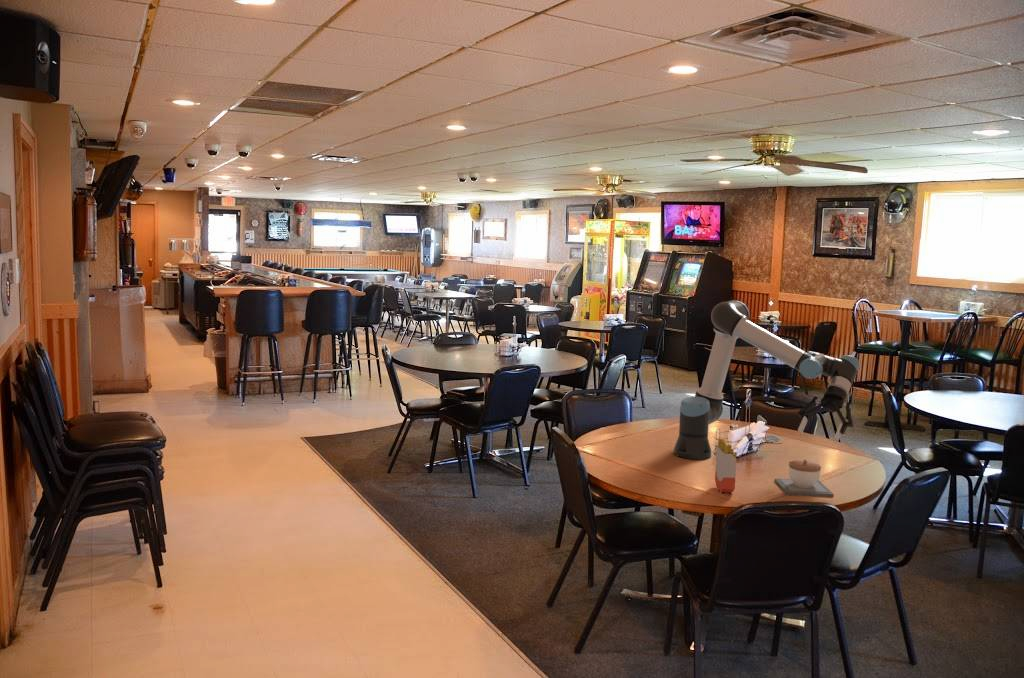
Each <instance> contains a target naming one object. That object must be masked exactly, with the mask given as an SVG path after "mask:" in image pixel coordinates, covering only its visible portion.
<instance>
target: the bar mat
mask: <svg viewBox="0 0 1024 678" xmlns="http://www.w3.org/2000/svg"><path fill="white" fill-rule="evenodd" d="M774 482H775V484H776V485H777V486H778V485H779V486H780V487H781V488H780V487H779V486H778V487H779V488H780V490H782V491H783V492H784V493H785V495H786V496H801V497H802V496H808V497H826V498H834V493H833V492H832V491H831V490H830V489H829V488H828V487H827V486H826V485H825V484H823V482H821V480H820V479H818V481H817V483H816V484H815V485H813V486H812V487H811V488H801V487H798V486H795V485H794V483H793V482H792V480H791V479H790V478H778V477H777V478H774Z"/></svg>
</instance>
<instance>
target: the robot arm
mask: <svg viewBox="0 0 1024 678" xmlns="http://www.w3.org/2000/svg"><path fill="white" fill-rule="evenodd" d="M750 314H751V313H750V310H749V308H748V306H747V305H746V304H745V303H744V302H742V301H739V300H734V299H730V300H728V301H722V302H720V303H718V304H716V305H715V306H714V307H713V308H712V310H711V315H710V319H711V323H712V324H713V326H714V327H713V332H714V333H715V335H714V340H713V343H712V347H711V350H710V353H709V358H708V361H707V365H706V369H705V371H704V372H705V373H704V375H703V379H702V383H701V387H699V388H697V389H696V391H695V394H694V396H688V397H685V398H683V399H682V400H681V401H680V406H679V426H678V436H677V437H678V438H677V440H676V442H675V445H674V447H673V454H674V453H675V454H676V455H678V456H681V457H680V458H682V457H685V458H684V459H686V458H689V460H707V458H708V459H710V458H711V457H712V449H711V445H710V444H711V443H710V440H709V425H711V424H713V423H715V422H717V421H718V420H719V419H720V417H721V416H722V414H723V412H724V404H723V402H724V394H723V393H722V392H723V390H724V389H723V388H724V385H725V382H726V378H727V374H728V371H729V367H730V365H731V364H730V363H731V360H732V357H733V353H734V349H735V347H736V342H737V339H739V338H740V339H741V340H743V341H744V342H745V343H746V342H747V343H748V344H750V345H752V346H754V347H755V348H758V349H759V350H760V351H763V352H765V354H768V355H769V356H771V357H773V358H775V359H776V360H778V361H780V362H782V363H784V364H785V365H788V367H790V368H793V369H795V370H796V371H798V372H799V373H800V375H801V376H802V377H804V378H805V379H816V378H818V377H820V376H821V375H823V376H827V377H830V380H829V382H828V384H827V388H826V389H825V392H824V394H823V397H822V398H818V397H817V396H816V395H815V396H813V398H812V399H811V401H809V402H808V403H807V404H806V405H804V406H803V407H802V408H801V409H800V410H799V411H797V414H798V417H799V418H800V419H799V421H798V425H799V426H798V428H797V432H798V433H799V435H803V433H804V430H805V427H806V426H807V424H808V421H809V420H808V419H810V418H811V417H814V416H815V415H816V414H819V413H822V412H824V411H825V412H830V413H833V414H834V413H836V414H837V416H838V418H839V419H840V421H841V422H840V423H839V425H838V428H837V430H836V433H835V435H834V440H835V442H836V443H839V440H840V438H841V437H842V435H844V434H845V432H846V430H847V428H853V427H854V422H853V417H852V412H851V411H852V403H851V402H850V401H847V402H846V399H847V397H848V394H849V392H850V390H851V388H852V385H853V382H854V380H855V378H856V376H857V374H858V371H859V369H860V361H859V360H858V358H856V357H855V356H852V355H849V354H848V355H846V354H843V355H842V356H841V357H840V358H835V357H832V356H829V355H826V354H822V353H820V352H816V351H811V350H809V351H807V352H806V351H804V350H803V349H801V348H799V347H797V346H795V345H793V344H792V343H790V342H789V341H786V340H785V339H783V338H780V337H779V336H777V335H775V334H774V333H771V332H770V331H768V330H767V329H765V328H763V327H761V326H759V325H757V324H755V323H753V322H752V321H751V320H750ZM843 408H844V409H845V411H846V416H847V421H846V419H845V417H844V414H842V411H841V409H843ZM675 454H674V455H675ZM676 455H675V456H676ZM678 456H677V457H678Z"/></svg>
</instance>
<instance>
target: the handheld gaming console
mask: <svg viewBox="0 0 1024 678" xmlns="http://www.w3.org/2000/svg"><path fill="white" fill-rule="evenodd" d="M757 421H763V422H765V424H766V426H767V427H768V421H767V420H766V419H765V418H764V417H762V415H759V414H758V415H757V418H756V422H757ZM766 434H767V432H766ZM770 435H771V436H770ZM772 435H773V436H772ZM765 440H766V441H765V442H783V443H784V441H783V440H782V438H780V437H779V436H778V435H776V434H769V435H767V438H766V436H765Z"/></svg>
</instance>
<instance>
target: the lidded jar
mask: <svg viewBox="0 0 1024 678" xmlns="http://www.w3.org/2000/svg"><path fill="white" fill-rule="evenodd" d="M821 469H822V466H821V465H820V464H819V463H816V462H813V461H808V460H807V459H803V460H791V461H789V462H788V475H789V479H791V480H792V482H793V483H794V485H795V486H798V487H801V488H811V487H812V486H813V485H815V484H816V483H817V481H818V480H820V475H821Z"/></svg>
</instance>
